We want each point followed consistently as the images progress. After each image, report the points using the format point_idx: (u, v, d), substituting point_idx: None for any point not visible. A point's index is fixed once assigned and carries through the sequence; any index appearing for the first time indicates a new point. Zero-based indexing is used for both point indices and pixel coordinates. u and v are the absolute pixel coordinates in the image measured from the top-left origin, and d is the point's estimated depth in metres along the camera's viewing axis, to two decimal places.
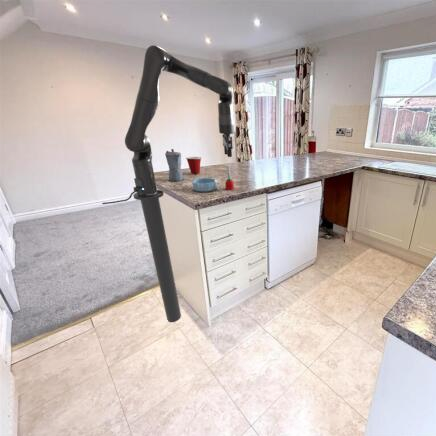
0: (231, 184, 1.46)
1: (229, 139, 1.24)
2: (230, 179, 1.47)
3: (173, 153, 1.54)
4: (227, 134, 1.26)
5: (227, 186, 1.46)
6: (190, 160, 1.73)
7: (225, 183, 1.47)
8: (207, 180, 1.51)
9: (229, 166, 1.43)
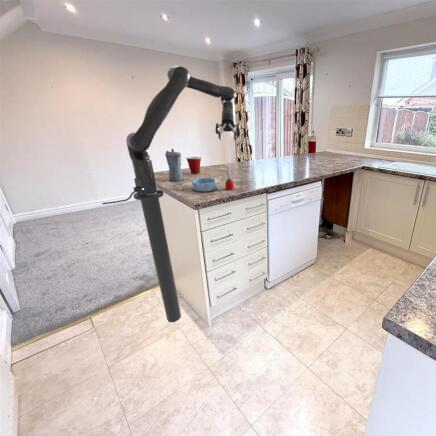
0: (231, 184, 1.46)
1: None
2: (230, 179, 1.47)
3: (173, 153, 1.54)
4: None
5: (227, 186, 1.46)
6: (190, 160, 1.73)
7: (225, 183, 1.47)
8: (207, 180, 1.51)
9: (229, 166, 1.43)
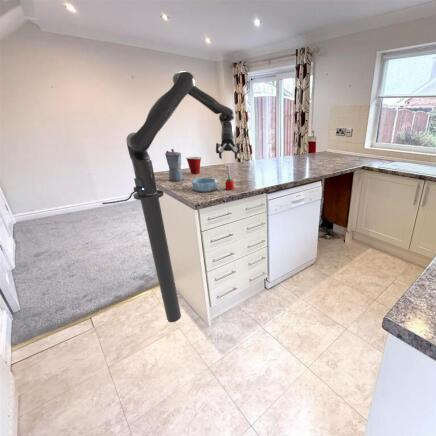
0: (231, 184, 1.46)
1: None
2: (230, 179, 1.47)
3: (173, 153, 1.54)
4: (233, 142, 1.53)
5: (227, 186, 1.46)
6: (190, 160, 1.73)
7: (225, 183, 1.47)
8: (207, 180, 1.51)
9: (229, 166, 1.43)
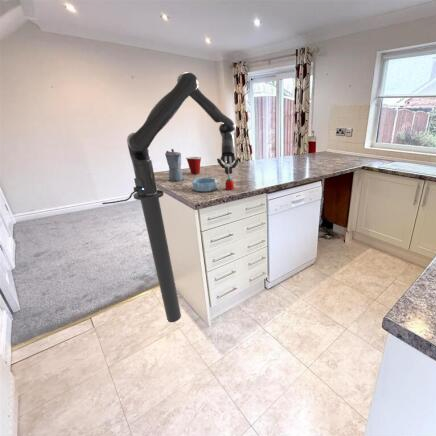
0: (231, 184, 1.46)
1: (238, 161, 1.47)
2: (230, 179, 1.47)
3: (173, 153, 1.54)
4: (234, 155, 1.48)
5: (227, 186, 1.46)
6: (190, 160, 1.73)
7: (225, 183, 1.47)
8: (207, 180, 1.51)
9: (229, 166, 1.43)
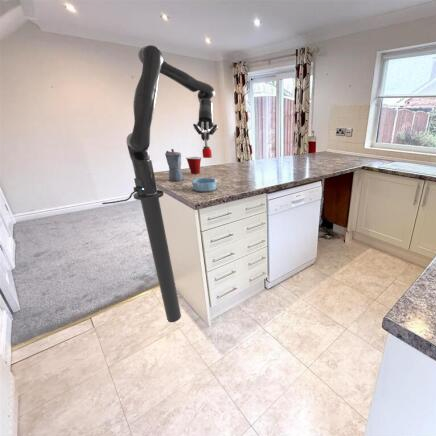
0: (208, 152, 1.37)
1: (216, 128, 1.38)
2: (207, 146, 1.38)
3: (173, 153, 1.54)
4: (212, 121, 1.39)
5: (204, 154, 1.37)
6: (190, 160, 1.73)
7: (202, 151, 1.38)
8: (207, 180, 1.51)
9: None
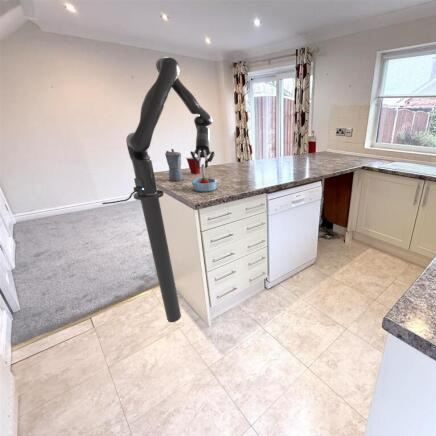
0: None
1: (213, 154, 1.44)
2: (205, 178, 1.45)
3: (173, 153, 1.54)
4: None
5: None
6: (190, 160, 1.73)
7: (200, 182, 1.45)
8: None
9: (203, 165, 1.41)
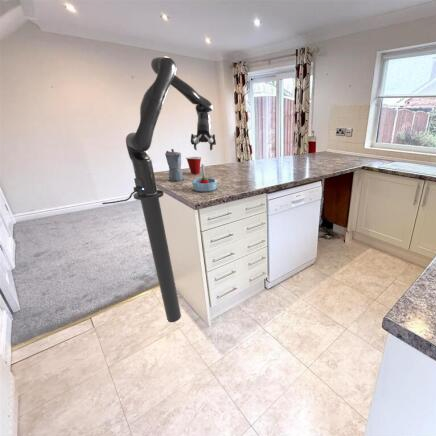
0: None
1: None
2: (205, 178, 1.45)
3: (173, 153, 1.54)
4: (209, 134, 1.51)
5: None
6: (190, 160, 1.73)
7: (200, 182, 1.45)
8: None
9: (203, 165, 1.41)
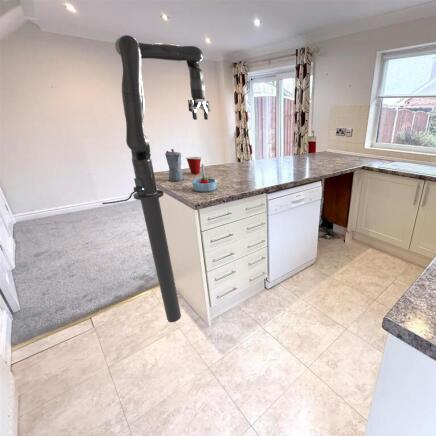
0: None
1: None
2: (205, 178, 1.45)
3: (173, 153, 1.54)
4: None
5: None
6: (190, 160, 1.73)
7: (200, 182, 1.45)
8: None
9: (203, 165, 1.41)
